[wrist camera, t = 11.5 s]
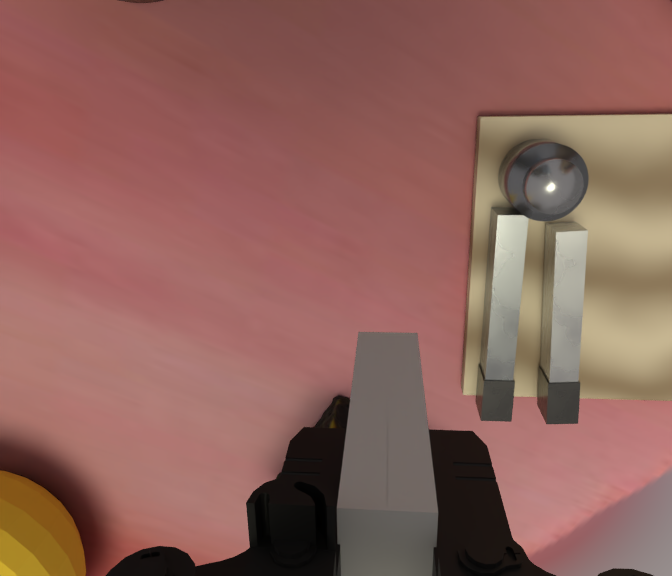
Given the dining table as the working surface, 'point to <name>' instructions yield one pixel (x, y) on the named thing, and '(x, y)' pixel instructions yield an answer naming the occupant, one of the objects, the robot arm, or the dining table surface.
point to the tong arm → (559, 287)
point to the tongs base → (510, 274)
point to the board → (589, 252)
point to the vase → (36, 532)
